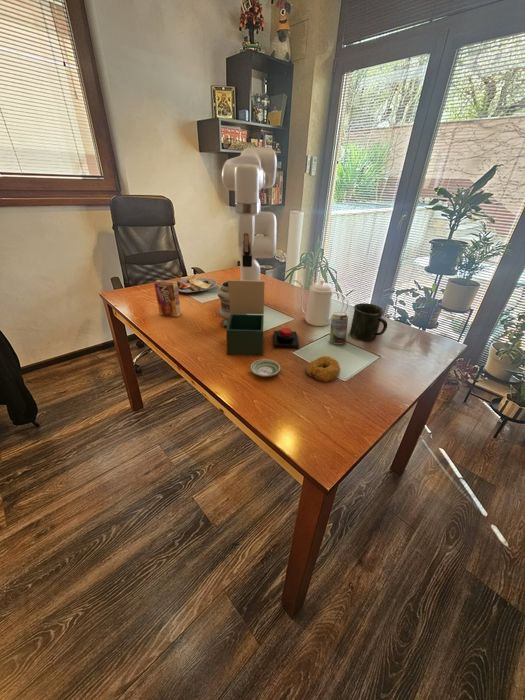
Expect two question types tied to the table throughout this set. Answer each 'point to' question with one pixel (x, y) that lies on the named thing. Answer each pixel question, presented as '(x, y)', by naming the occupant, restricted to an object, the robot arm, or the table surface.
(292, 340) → the switch block
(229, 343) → the box
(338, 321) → the beverage can
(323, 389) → the table surface
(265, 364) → the saucer
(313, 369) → the bagel
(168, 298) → the candy box
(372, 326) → the mug
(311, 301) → the coffeepot
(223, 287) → the apothecary jar
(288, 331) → the button
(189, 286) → the food plate
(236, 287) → the lid
